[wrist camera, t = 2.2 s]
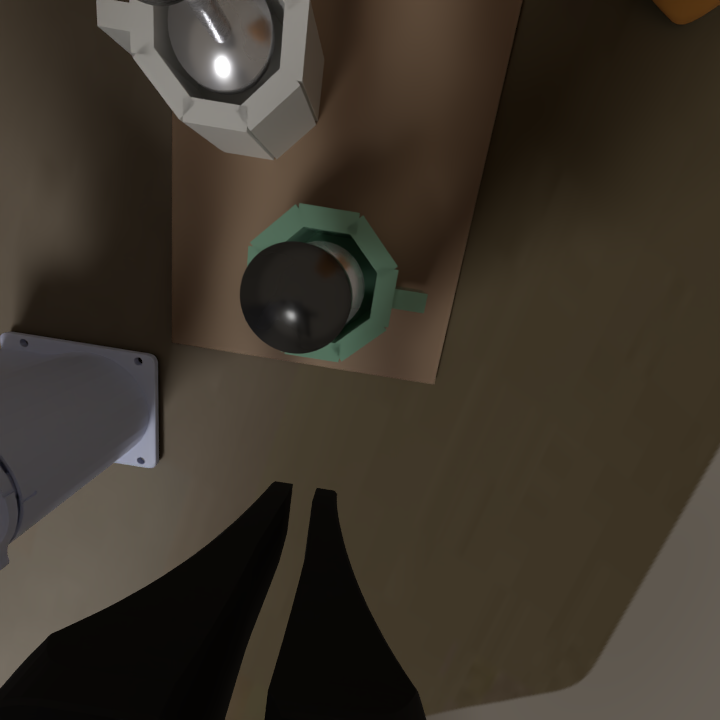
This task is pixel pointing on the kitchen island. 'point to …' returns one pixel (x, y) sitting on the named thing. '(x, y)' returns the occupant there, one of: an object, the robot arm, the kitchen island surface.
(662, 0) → the coffee package
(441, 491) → the kitchen island surface
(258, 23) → the grey plunger
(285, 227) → the green octagonal cup
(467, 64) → the board
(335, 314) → the black knob plunger
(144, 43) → the white faceted cup
